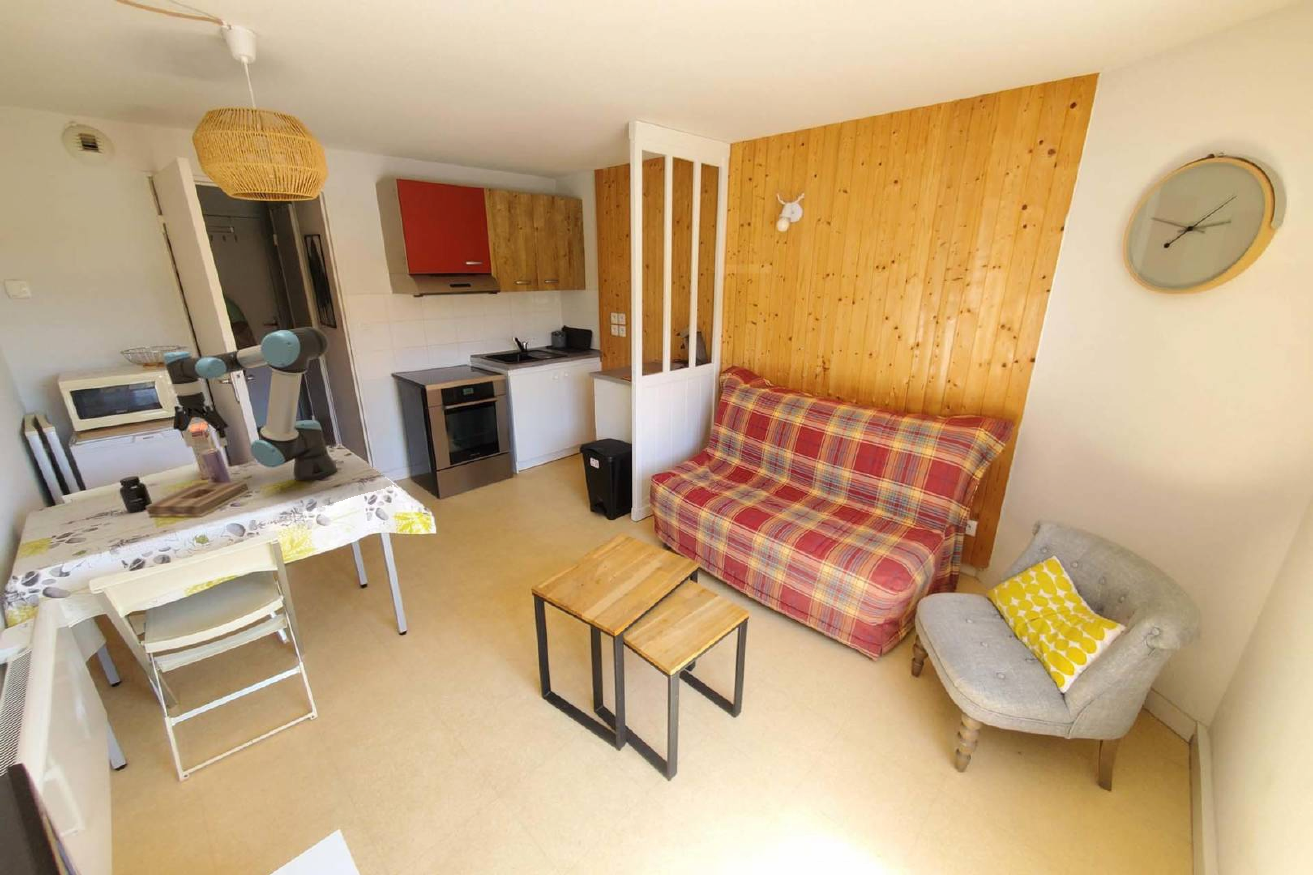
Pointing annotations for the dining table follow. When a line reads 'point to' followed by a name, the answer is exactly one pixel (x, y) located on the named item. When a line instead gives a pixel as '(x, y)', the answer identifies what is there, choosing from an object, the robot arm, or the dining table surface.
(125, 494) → the supplement bottle
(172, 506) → the socket block
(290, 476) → the dining table surface
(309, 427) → the robot arm
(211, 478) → the beverage can
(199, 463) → the cracker box
